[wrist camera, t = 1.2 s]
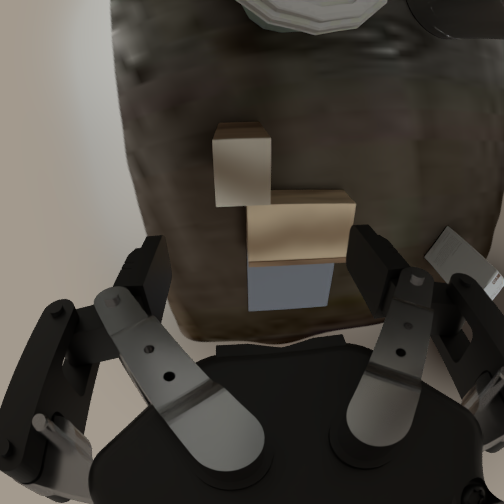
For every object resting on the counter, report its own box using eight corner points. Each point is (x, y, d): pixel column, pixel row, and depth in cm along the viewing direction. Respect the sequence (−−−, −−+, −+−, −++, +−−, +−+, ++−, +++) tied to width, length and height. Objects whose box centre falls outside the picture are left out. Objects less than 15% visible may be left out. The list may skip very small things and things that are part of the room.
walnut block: (218, 122, 28) (212, 140, 19) (259, 121, 28) (271, 138, 19) (220, 169, 30) (216, 207, 22) (259, 168, 30) (270, 204, 22)
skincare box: (437, 266, 39) (479, 319, 29) (422, 255, 38) (466, 311, 28) (460, 235, 36) (508, 283, 26) (446, 222, 35) (498, 271, 25)
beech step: (245, 190, 32) (247, 206, 28) (343, 189, 32) (356, 204, 29) (246, 246, 35) (248, 267, 32) (336, 243, 36) (347, 262, 32)
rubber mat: (246, 246, 35) (246, 248, 35) (336, 243, 36) (337, 244, 36) (248, 309, 41) (248, 311, 40) (326, 304, 41) (326, 305, 41)
